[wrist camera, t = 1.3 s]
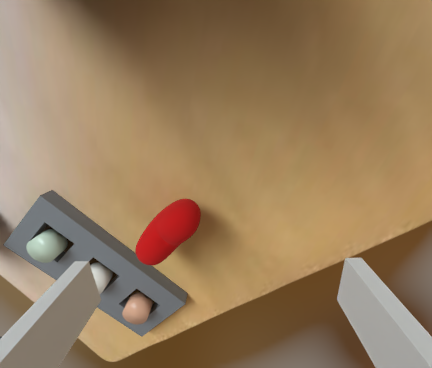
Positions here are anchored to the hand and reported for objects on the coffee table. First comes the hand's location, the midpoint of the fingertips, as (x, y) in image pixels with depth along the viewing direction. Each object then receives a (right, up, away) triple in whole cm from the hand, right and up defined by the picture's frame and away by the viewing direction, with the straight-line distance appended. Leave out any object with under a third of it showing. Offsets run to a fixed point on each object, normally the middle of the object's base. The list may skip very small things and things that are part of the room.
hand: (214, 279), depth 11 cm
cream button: (-22, -12, +29) cm, 39 cm away
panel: (-22, -11, +31) cm, 40 cm away
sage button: (-29, -5, +27) cm, 40 cm away
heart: (-7, 0, +26) cm, 27 cm away
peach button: (-15, -19, +31) cm, 40 cm away
